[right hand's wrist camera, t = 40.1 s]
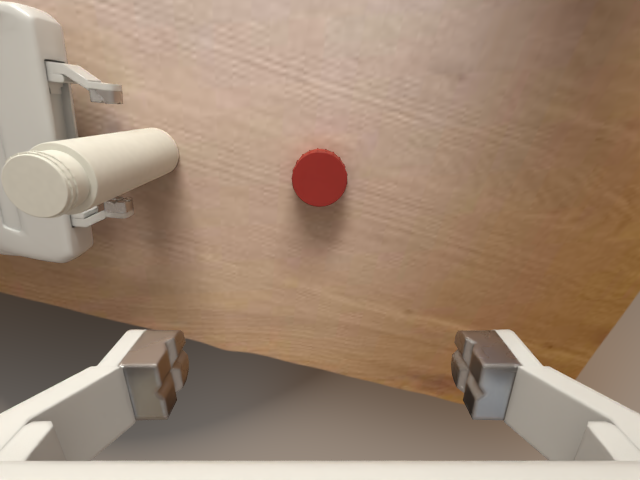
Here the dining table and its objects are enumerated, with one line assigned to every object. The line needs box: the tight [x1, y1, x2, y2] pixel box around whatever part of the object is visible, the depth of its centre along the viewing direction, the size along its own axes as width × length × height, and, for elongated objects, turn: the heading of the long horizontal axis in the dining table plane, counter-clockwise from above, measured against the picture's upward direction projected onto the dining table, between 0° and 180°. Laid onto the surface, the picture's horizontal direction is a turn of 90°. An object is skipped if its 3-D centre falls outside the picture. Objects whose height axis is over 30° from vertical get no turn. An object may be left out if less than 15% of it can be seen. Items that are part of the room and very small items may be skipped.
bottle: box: [1, 128, 179, 218], centre depth 27 cm, size 4×4×16 cm
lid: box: [292, 148, 347, 207], centre depth 34 cm, size 5×5×2 cm
